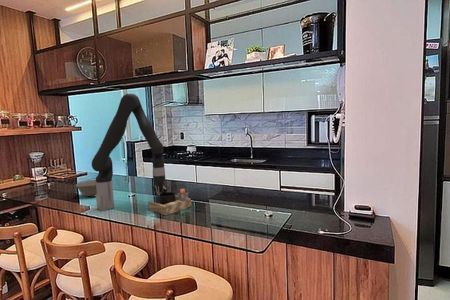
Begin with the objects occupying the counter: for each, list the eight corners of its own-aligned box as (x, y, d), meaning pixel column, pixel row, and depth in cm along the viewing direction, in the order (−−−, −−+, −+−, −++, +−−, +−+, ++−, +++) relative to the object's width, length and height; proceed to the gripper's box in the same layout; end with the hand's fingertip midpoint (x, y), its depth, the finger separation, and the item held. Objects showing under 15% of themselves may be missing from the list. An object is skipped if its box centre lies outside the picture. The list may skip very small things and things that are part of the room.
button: (182, 196, 172) (182, 190, 171) (179, 196, 173) (179, 189, 173) (186, 195, 174) (185, 189, 173) (183, 194, 176) (182, 188, 175)
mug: (181, 205, 179) (180, 191, 178) (170, 211, 168) (169, 196, 167) (168, 204, 183) (167, 190, 182) (157, 210, 172) (155, 195, 171)
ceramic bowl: (69, 199, 208) (68, 185, 207) (91, 191, 230) (90, 179, 229) (96, 200, 202) (95, 186, 201) (116, 191, 225) (115, 179, 224)
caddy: (165, 215, 162) (164, 199, 161) (148, 209, 174) (147, 195, 173) (191, 206, 176) (190, 192, 175) (174, 202, 188) (173, 188, 187)
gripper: (147, 174, 181) (149, 201, 183) (160, 176, 172) (161, 205, 174) (157, 172, 186) (159, 198, 188) (170, 174, 177) (171, 202, 179)
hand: (160, 201), depth 181 cm, fingers closed
